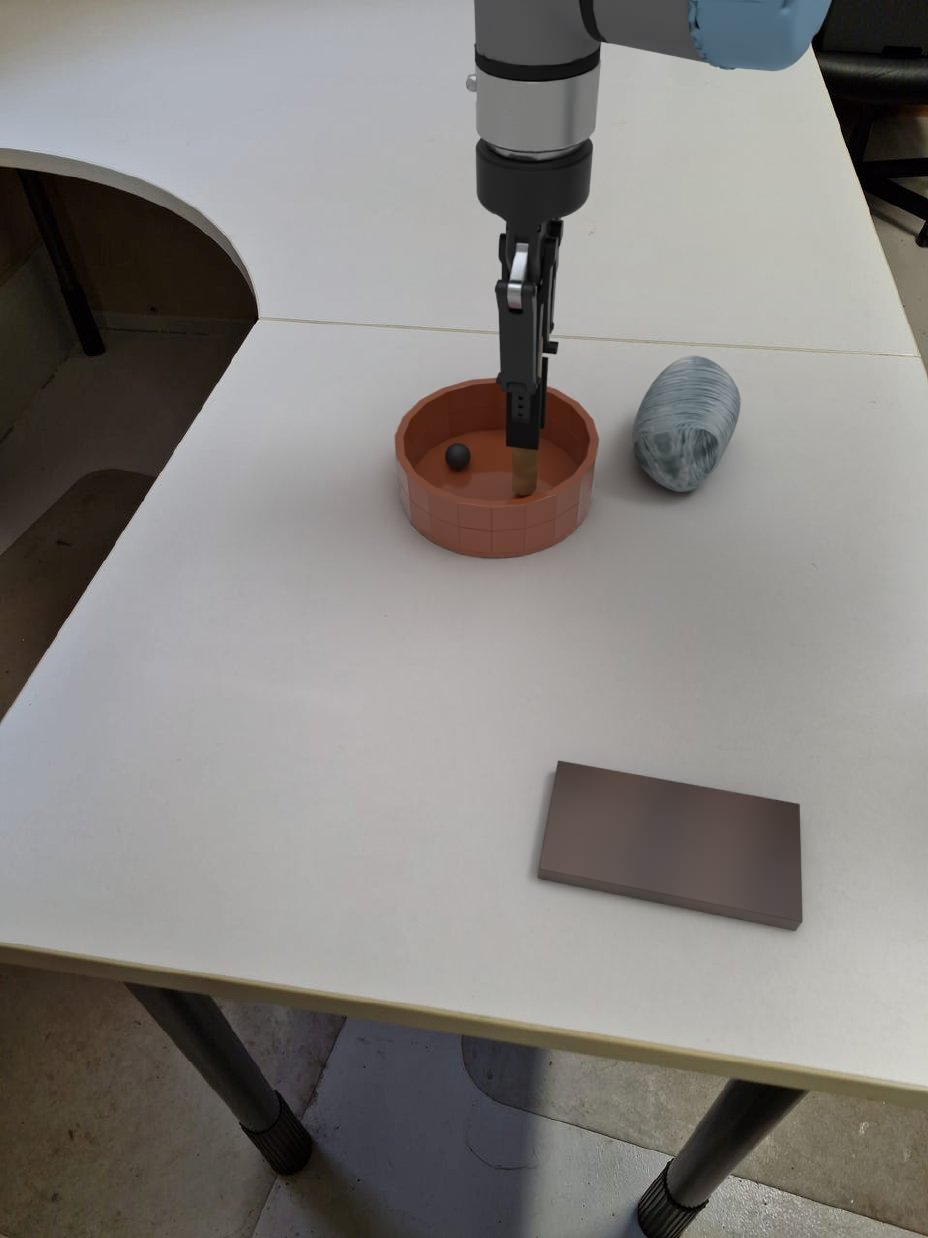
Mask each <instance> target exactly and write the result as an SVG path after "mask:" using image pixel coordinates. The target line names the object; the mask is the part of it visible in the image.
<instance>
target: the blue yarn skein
mask: <svg viewBox="0 0 928 1238" xmlns="http://www.w3.org/2000/svg"><path fill="white" fill-rule="evenodd" d="M740 412H741V395H740V391H739V388H738V386H737V385H736V382H735V381H734V379H733V377H732V376H731V375H730V374H729V373H728V372H727V371H726V370H725V369H724V368H723V367H722V366H721V365H720V364H718V363H716V362H715V361H713V360H712V359H709V358H708V357H704V356H700V355H688V356H684V357H681V358H679V359H677V360H675V361H673V362H672V363H671V364H669V365H668V366H666V367H665V368H664V369H663V370H662V371H661V372H660V373H659V374H658V376H656V378H655V379H654V380H653V381H652V383H651V385H650V386H649V387H648V389H647V391H646V392H645V394H644V396H643V398H642V399H641V402H640V405H639V406H638V409H637V412H636V415H635V418H634V422H633V426H632V431H631V447H632V452H633V454H634V456H635V459H636V461H637V462H638V464H639V465H640V466H641V468H642V469H643V470H644V472H645V473H646V474H648V476H649V477H650V478H651V479H652V480H653V481H655V483H657V484H658V485H660V486H662V487H664V488H666V489H668V490H670V491H673V492H675V493H676V492H679V493H680V492H681V493H683V492H684V493H685V492H691V491H694V490H696V489H697V488H698V487H699V486H701V485H702V484H703V483H704V482H705V481H706V480H707V479H708V478H709V477H710V475H711V474H712V473H713V472H714V471H715V469H716V468H717V466H718V465H719V463H720V462H721V460H722V458H723V456H724V454H725V452H726V450H727V448H728V446H729V443H730V441H731V438H732V437H733V435H734V432H735V430H736V427H737V424H738V421H739V416H740Z"/></svg>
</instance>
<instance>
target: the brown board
mask: <svg viewBox="0 0 928 1238" xmlns="http://www.w3.org/2000/svg"><path fill="white" fill-rule="evenodd" d="M555 768H556V769H555V775H554V780H553V786H552V790H551V796H550V801H549V807H548V813H547V819H546V824H545V829H544V836H543V839H542V840H543V841H542V847H541V851H540V852H541V853H540V858H539V864H538V870H537V871H538V872H537V878H538V879H540V880H545V881H550V882H554V883H560V884H565V885H570V886H575V887H581V888H584V889H588V890H589V889H590V890H595V891H599V892H605V893H609V894H614V895H620V896H623V897H629V898H633V899H637V900H638V899H639V900H644V901H648V902H652V903H653V902H654V903H658V904H663V905H667V906H673V907H679V908H683V909H687V910H692V911H698V912H703V913H708V914H713V915H717V916H722V917H727V918H731V919H736V920H742V921H747V922H752V923H756V924H761V925H766V926H772V927H776V928H781V929H786V930H791V931H797V930H798V928H799V927H800V926H801V924H802V923H803V921H804V920H803V883H802V881H803V879H802V877H803V876H802V842H801V839H802V838H801V836H802V835H801V804H800V803H798V802H791V801H786V800H781V799H774V798H770V797H763V796H758V795H753V794H747V793H741V792H736V791H729V790H725V789H720V788H715V787H708V786H702V785H697V784H692V783H686V782H681V781H674V780H669V779H663V778H658V777H653V776H647V775H641V774H637V773H630V772H625V771H619V770H613V769H608V768H603V767H596V766H592V765H586V764H581V763H575V762H569V761H565V760H557V763H556V767H555Z"/></svg>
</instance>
